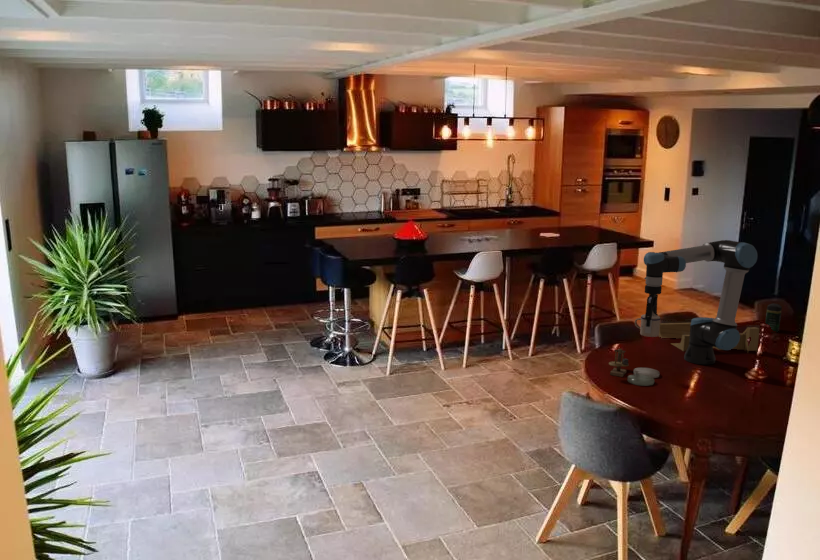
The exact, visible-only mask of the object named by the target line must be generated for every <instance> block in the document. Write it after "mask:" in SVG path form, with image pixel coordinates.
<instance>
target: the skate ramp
mask: <svg viewBox="0 0 820 560" xmlns="http://www.w3.org/2000/svg"><path fill="white" fill-rule="evenodd" d="M671 320H672V319H669V322H668V320H666V321H665V322H660V327H659V336H658V337H659V338H660V337H661V338H660V339H662V338H676V339H681V340H680V342H678V343H677V342H675V343H670V345H672V346H674V347H676V348H677V349H679V350H681V351H682V352H686V350H687V348H688V346H689V338H690V325H691V322H676V321H675V320H672V321H671ZM688 320H690V321H691V320H692V319H686V321H688ZM739 334H740V340H739V342H738V344H737V345H736V346H735V347H734V348H733V349H737V350H744V351H746V352H747V354H749V352H750V351H753V352H754V351H755V353H756V352H757V353H758V346H759V335H760V325H759V324H758V325H757V324H756V326H752V325H749V326H748V325H746V328H745V330H744V331H743V332H742V331H741V332H739ZM749 337H751V341H750V344H749V346H748V342H747V339H748V338H749ZM713 349H716V350H718V351H724V350H723V349H718V348H717V347H714V346H713Z"/></svg>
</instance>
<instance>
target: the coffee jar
mask: <svg viewBox="0 0 820 560" xmlns="http://www.w3.org/2000/svg"><path fill="white" fill-rule="evenodd" d="M782 307H783V306H782V305H781V304H779V303H774V302H773V303H770V304H768V305H767V307H766V313H765V322H764V324H765V323H766V324H768V325H770V327H771V329H772V330H773V331H776V332H778V331H779V332H780V325H781V324H780V323H781V319H782V318H781V317H782ZM779 332H778V333H779Z"/></svg>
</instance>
